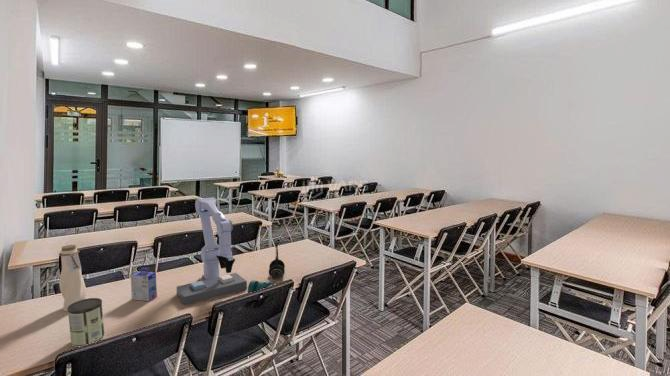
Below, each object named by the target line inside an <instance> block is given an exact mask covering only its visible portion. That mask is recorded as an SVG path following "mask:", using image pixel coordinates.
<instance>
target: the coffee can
mask: <svg viewBox="0 0 670 376" xmlns="http://www.w3.org/2000/svg"><path fill="white" fill-rule="evenodd" d="M102 303H103V300H102V299H101V298H99V297H91V298H86V299H84V300H80V301H77V302H75V303H73V304H71V305H69V306H68V308H67V310H68V311H67V315H68V324H69V333H70V343H71V344H72V345H73V346H75V347H74V348H76V347H79V346H83V345H86V344H89V343H92V342H96V341H99V340H101V341H102V340H103V339H104V338H105V336H106V335H105V327H104V315H103V313H104V312H103V304H102ZM99 342H100V341H99ZM72 345H71V346H72ZM73 346H72V347H73Z"/></svg>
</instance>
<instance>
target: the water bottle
mask: <svg viewBox="0 0 670 376" xmlns="http://www.w3.org/2000/svg"><path fill="white" fill-rule="evenodd" d="M80 251H81V250H79V249H77V247H76V245H75V244H67V245H64V246H61V250H60V252H59V253H58V255H59V256H60V258H61V259H60V260H61V272H60V276H59V284H58V286H59V291H60V294H61V296H62V297H63V299H64V300H63V308H62V309H63V311H64V312H68V310H67V308H68V306H69V305H71V304H73V303H75V302H77V301H80V300H84V299H87V288H86V284H85V281H84V278H83V275H82V265H81V260H80V256H79V253H80Z"/></svg>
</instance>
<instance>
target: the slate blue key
mask: <svg viewBox="0 0 670 376" xmlns="http://www.w3.org/2000/svg"><path fill="white" fill-rule="evenodd" d="M202 281H203V280H199V281H195V283H194V282H191V290H192V291H197V290H201V289H205V284H204V283H203V282H202Z"/></svg>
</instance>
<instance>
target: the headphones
mask: <svg viewBox="0 0 670 376" xmlns="http://www.w3.org/2000/svg"><path fill="white" fill-rule="evenodd" d="M278 246H279V241H278V240H276V241H274V247H275V258H274V260H272V261H271V262H270V263H269V269H268V274H269V276H270V278H272V279H276V280H277V279H280V278H282V277H284V275H285V271H286V270H285V267H286V266H285V263H284V261H283V260H282V259H279V247H278Z"/></svg>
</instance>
